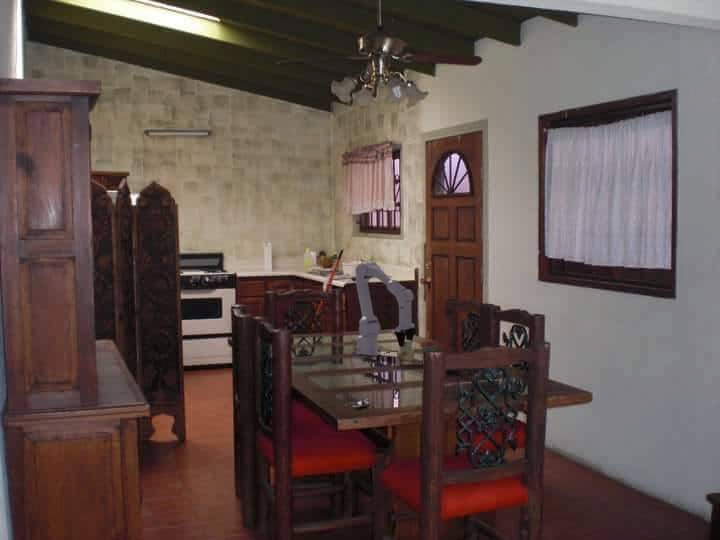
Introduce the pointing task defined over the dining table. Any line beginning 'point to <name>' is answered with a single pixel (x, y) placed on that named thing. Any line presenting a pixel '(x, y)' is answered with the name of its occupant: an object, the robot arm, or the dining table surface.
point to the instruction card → (388, 354)
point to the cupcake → (429, 344)
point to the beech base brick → (405, 356)
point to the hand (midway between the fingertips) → (405, 345)
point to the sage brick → (406, 346)
